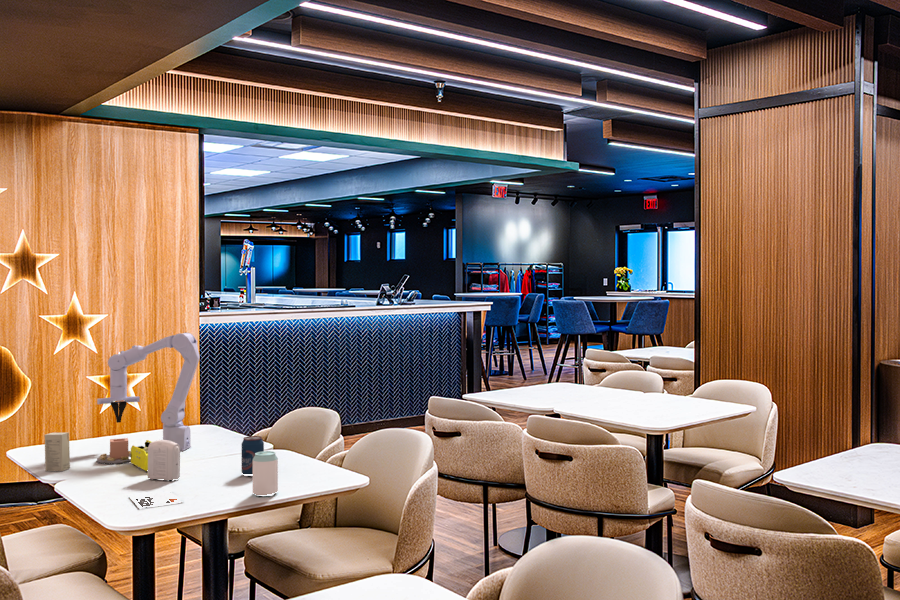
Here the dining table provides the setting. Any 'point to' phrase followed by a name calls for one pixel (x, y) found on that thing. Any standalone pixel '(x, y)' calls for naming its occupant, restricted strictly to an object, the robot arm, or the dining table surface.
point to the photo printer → (163, 460)
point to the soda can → (250, 452)
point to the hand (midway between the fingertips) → (118, 422)
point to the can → (265, 473)
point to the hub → (113, 459)
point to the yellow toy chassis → (140, 456)
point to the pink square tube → (119, 448)
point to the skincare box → (57, 452)
